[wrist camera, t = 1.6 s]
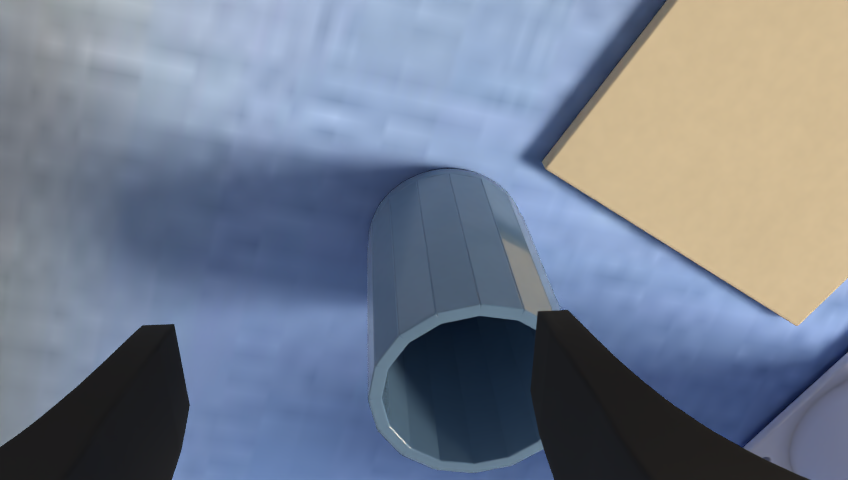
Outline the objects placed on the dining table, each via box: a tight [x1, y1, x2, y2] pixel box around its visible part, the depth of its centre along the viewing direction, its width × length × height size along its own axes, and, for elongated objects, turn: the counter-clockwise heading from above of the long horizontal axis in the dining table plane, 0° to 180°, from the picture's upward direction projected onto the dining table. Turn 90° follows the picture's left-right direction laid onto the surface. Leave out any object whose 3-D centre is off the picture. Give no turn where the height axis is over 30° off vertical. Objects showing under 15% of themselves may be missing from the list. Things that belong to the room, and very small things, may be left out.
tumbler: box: [367, 169, 561, 473], centre depth 22 cm, size 5×5×8 cm
